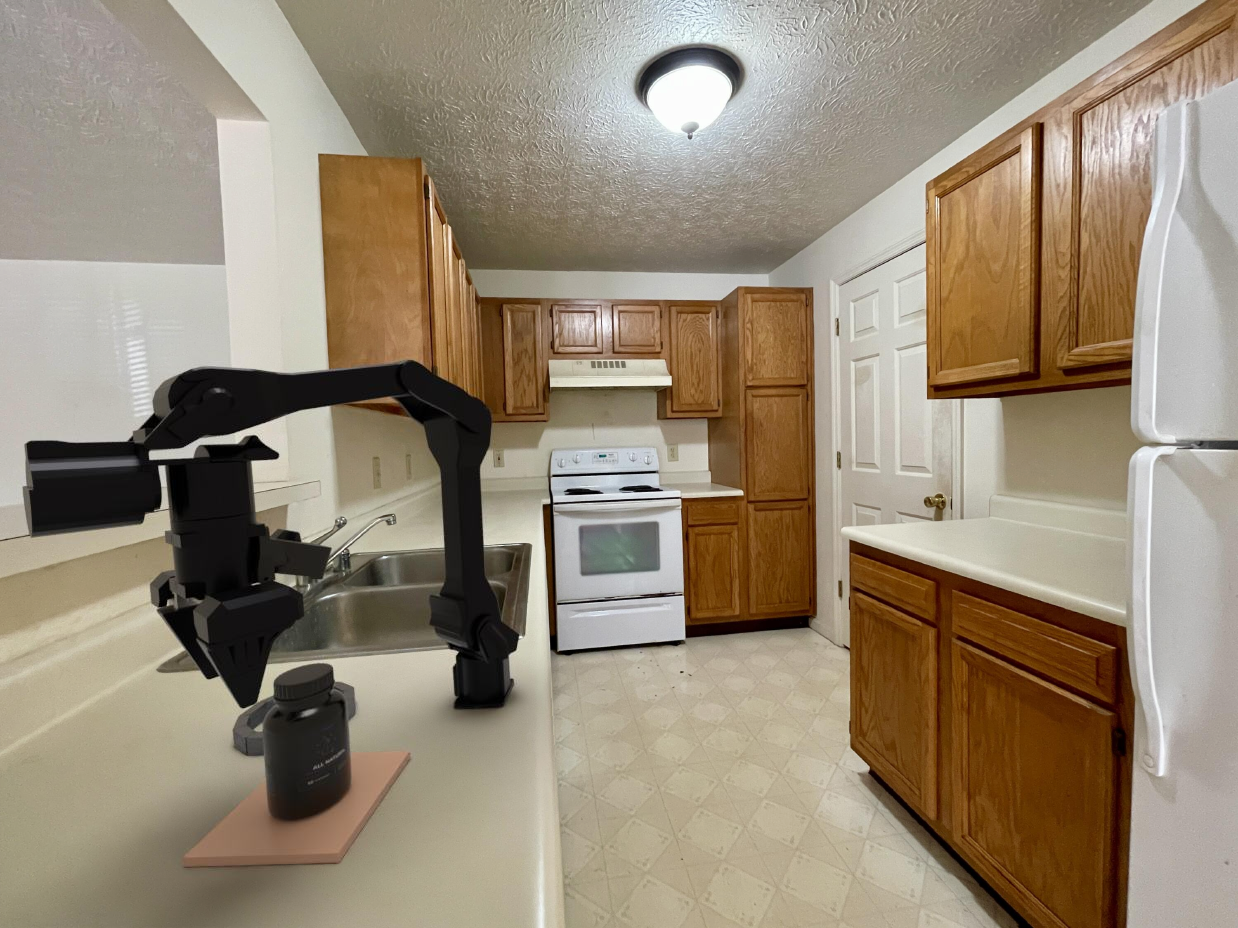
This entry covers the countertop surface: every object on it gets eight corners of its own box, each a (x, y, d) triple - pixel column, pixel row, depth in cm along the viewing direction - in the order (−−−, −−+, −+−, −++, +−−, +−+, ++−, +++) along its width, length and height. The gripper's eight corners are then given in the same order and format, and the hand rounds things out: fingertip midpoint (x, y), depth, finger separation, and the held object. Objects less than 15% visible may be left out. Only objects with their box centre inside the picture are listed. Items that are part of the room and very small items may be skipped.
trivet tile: (410, 757, 52) (409, 750, 52) (339, 862, 39) (338, 853, 39) (292, 761, 53) (292, 754, 53) (183, 866, 40) (182, 857, 40)
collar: (373, 694, 66) (372, 680, 66) (315, 753, 54) (314, 735, 54) (285, 697, 67) (284, 683, 67) (207, 756, 54) (205, 739, 54)
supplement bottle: (336, 816, 43) (326, 687, 43) (252, 830, 42) (240, 697, 42) (363, 766, 50) (354, 653, 50) (291, 777, 49) (281, 662, 48)
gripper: (362, 507, 43) (374, 679, 44) (279, 499, 54) (291, 636, 55) (200, 530, 34) (220, 745, 35) (141, 515, 45) (157, 678, 46)
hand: (230, 690), depth 43 cm, fingers open, 9 cm apart
